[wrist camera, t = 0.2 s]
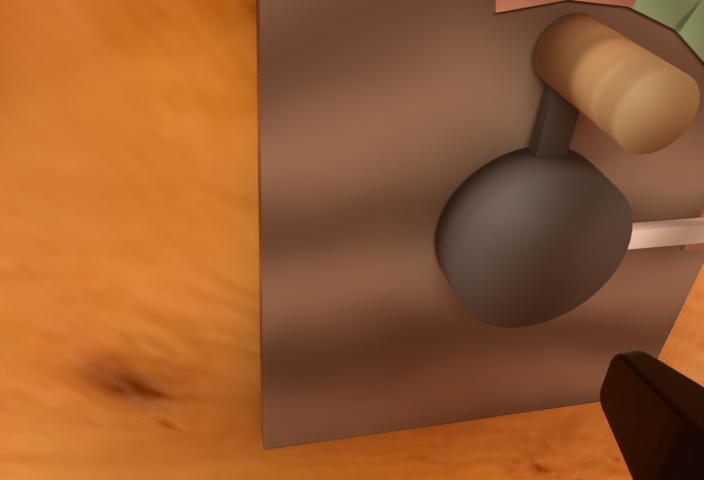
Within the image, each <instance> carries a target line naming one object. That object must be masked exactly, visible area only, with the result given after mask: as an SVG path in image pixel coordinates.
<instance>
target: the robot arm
mask: <svg viewBox="0 0 704 480" xmlns="http://www.w3.org/2000/svg"><path fill="white" fill-rule="evenodd" d="M600 402H601V406H602V409H603V411H604V413H605V416H606V418H607V420H608V423H609V425H610V427H611V430H612V432H613V434H614V437H615V439H616V441H617V444H618V446H619V448H620V451H621V453H622V455H623V458H624V460H625V462H626V465H627V467H628V469H629V472H630V474H631V476H632V479H633V480H704V387H703V386H701V385H700V384H698V383H696V382H695V381H693V380H691V379H690V378H688V377H686V376H685V375H683V374H681V373H680V372H678V371H676V370H675V369H673V368H671V367H670V366H668V365H666V364H665V363H663V362H661V361H660V360H658V359H656V358H655V357H653V356H651V355H650V354H648V353H646V352H643V351H631V352H626V353H620V354H616V355H615V356H614V357H613V358H612V360H611V362H610V365H609V367H608V370H607V373H606V376H605V378H604V381H603V384H602V387H601V390H600Z"/></svg>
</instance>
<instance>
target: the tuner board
mask: <svg viewBox="0 0 704 480" xmlns="http://www.w3.org/2000/svg"><path fill="white" fill-rule="evenodd" d="M570 13H584V14H587V15H590V16H591V17H593V18H595V19H596V20H598V21H600V22H601V23H603V24H605V25H606V26H608V27H610V28H611V29H613V30H615V31H616V32H618V33H620V34H621V35H623V36H625V37H626V38H628V39H630V40H631V41H633V42H635V43H636V44H638V45H640V46H641V47H643V48H645V49H646V50H648V51H650V52H651V53H653V54H655V55H656V56H658V57H660V58H661V59H663V60H665V61H666V62H668V63H670V64H671V65H673V66H675V67H676V68H678V69H680V70H681V71H683V72H685V73H686V74H688V75H689V76H691V77H692V78H693V79H694V80H695V81H696V83H697V85H698V87H699V92H700V102H699V107H698V110H697V113H696V115H695V117H694V119H693V121H692V123H691V124H690V126H689V127H688V128H687V130H686V131H685V132H684V133H683V134H682V135H681V136H680V137H679V138H678V139H677V140H676V141H675V142H673V143H672V144H670V145H669V146H667V147H666V148H664V149H662V150H660V151H657V152H654V153H650V154H643V155H642V154H633V153H630V152H628V151H627V150H625V149H624V148H623V147H622V146H620V145H619V144H618V143H617V142H616V141H615V140H613V139H612V138H611V137H610V136H609V135H607V134H606V133H605V132H604V131H603V130H601V129H600V128H599V127H598V126H597V125H596V124H594V123H593V122H592V121H591V120H590V119H588V118H587V117H586V116H585V115H584V114H583V113H581V112H579V116H578V119H577V122H576V126H575V129H574V133H573V136H572V139H571V143H570V146H569V149H570V150H573V151H575V152H577V153H579V154H581V155H582V156H584V157H585V158H586V159H588V160H589V161H590V162H591V163H592V164H593V165H594V166H595V167H596V168H597V169H598V170H599V171H601V172H602V173H603V174H604V175H605V176H606V177H607V178H608V179H609V180H610V181H611V182H612V183H613V184H614V185H615V186H616V187H617V188H618V189H619V190H620V191H621V192H622V193H623V194H624V196H625V197H626V199H627V201H628V203H629V205H630V208H631V211H632V219H633V223H638V222H651V221H664V220H677V219H690V218H704V0H256V17H257V102H258V186H259V271H260V356H261V433H262V440H263V447H264V450H267V449H274V448H281V447H288V446H295V445H302V444H309V443H316V442H323V441H329V440H336V439H343V438H350V437H357V436H364V435H371V434H378V433H385V432H392V431H399V430H406V429H413V428H420V427H427V426H434V425H441V424H447V423H454V422H461V421H468V420H475V419H482V418H489V417H496V416H503V415H510V414H517V413H524V412H531V411H538V410H545V409H552V408H559V407H565V406H572V405H579V404H586V403H593V402H600V390H601V387H602V384H603V381H604V378H605V376H606V373H607V370H608V367H609V365H610V362H611V360H612V358H613V357H614V356H615V355H616V354H620V353H626V352H631V351H643V352H646V353H648V354H650V355H651V356H653V357H655V358H656V359H657V358H658V356H659V354H660V352H661V350H662V348H663V346H664V344H665V341H666V339H667V337H668V335H669V333H670V331H671V329H672V327H673V325H674V323H675V321H676V319H677V317H678V315H679V313H680V310H681V308H682V306H683V304H684V302H685V300H686V298H687V296H688V294H689V292H690V290H691V288H692V286H693V284H694V282H695V279H696V277H697V275H698V273H699V271H700V269H701V267H702V265H703V263H704V243H697V244H686V245H674V246H662V247H651V248H639V249H628V250H627V252H626V254H625V256H624V258H623V260H622V262H621V263H620V265H619V267H618V268H617V270H616V271H615V273H614V274H613V275H612V277H611V278H610V279H609V280H608V281H607V282H606V283H605V285H604V286H603V287H602V288H601V289H600V290H598V291H597V292H596V293H595V294H594V295H593V296H592V297H590V298H589V299H588V300H587V301H585V302H584V303H582V304H581V305H579V306H578V307H576V308H575V309H573V310H571V311H569V312H568V313H566V314H564V315H562V316H560V317H557V318H555V319H553V320H550V321H547V322H544V323H540V324H537V325H533V326H526V327H517V328H506V327H497V326H492V325H489V324H486V323H483V322H481V321H479V320H477V319H475V318H474V317H472V316H471V315H469V314H468V313H467V312H466V311H465V310H464V309H463V308H462V306H461V304H460V303H459V301H458V300H457V298H456V296H455V294H454V292H453V290H452V289H451V287H450V285H449V283H448V281H447V279H446V278H445V276H444V274H443V272H442V270H441V268H440V266H439V264H438V261H437V258H436V253H435V233H436V229H437V225H438V221H439V219H440V216H441V214H442V211H443V210H444V208H445V206H446V204H447V202H448V201H449V199H450V198H451V197H452V195H453V194H454V192H455V191H456V190H457V189H458V188H459V187H460V185H461V184H462V183H463V182H464V181H465V180H466V179H467V178H469V177H470V176H471V175H472V174H473V173H474V172H476V171H477V170H478V169H480V168H481V167H482V166H484V165H485V164H487V163H489V162H490V161H492V160H494V159H496V158H498V157H500V156H502V155H504V154H507V153H509V152H512V151H515V150H518V149H522V148H527V147H529V144H530V140H531V136H532V132H533V128H534V124H535V121H536V117H537V113H538V109H539V105H540V101H541V97H542V93H543V89H544V85H545V81H544V80H542V79H541V78H540V77H539V76H538V74H537V73H536V70H535V68H534V63H533V54H534V49H535V46H536V43H537V41H538V39H539V37H540V35H541V34H542V33H543V31H544V30H545V29H546V28H547V27H548V26H549V25H550V24H551V23H552V22H553V21H555V20H556V19H558V18H559V17H561V16H564V15H566V14H570Z"/></svg>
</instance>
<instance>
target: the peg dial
mask: <svg viewBox="0 0 704 480" xmlns="http://www.w3.org/2000/svg"><path fill="white" fill-rule="evenodd" d="M533 63H534V68H535V70H536V73H537V74H538V76H539V77H540V78H541V79H542V80H544V81H545V85H544V89H543V93H542V97H541V101H540V105H539V109H538V113H537V117H536V121H535V124H534V128H533V132H532V136H531V140H530V144H529V147H527V148H522V149H518V150H515V151H512V152H509V153H507V154H504V155H502V156H500V157H498V158H496V159H494V160H492V161H490V162H489V163H487V164H485V165H484V166H482V167H481V168H480V169H478V170H477V171H476V172H474V173H473V174H472V175H471V176H470V177H469V178H467V179H466V180H465V181H464V182H463V183H462V184H461V185H460V187H459V188H458V189H457V190H456V191H455V192H454V194H453V195H452V197H451V198H450V199H449V201H448V202H447V204H446V206H445V208H444V210H443V211H442V214H441V216H440V219H439V221H438V225H437V229H436V233H435V253H436V258H437V261H438V264H439V266H440V268H441V270H442V272H443V274H444V276H445V278H446V279H447V281H448V283H449V285H450V287H451V289H452V290H453V292H454V294H455V296H456V298H457V300H458V301H459V303H460V304H461V306H462V308H463V309H464V310H465V311H466V312H467V313H468V314H469V315H471V316H472V317H474V318H475V319H477V320H479V321H481V322H483V323H486V324H489V325H492V326H497V327H506V328H517V327H526V326H533V325H537V324H540V323H544V322H547V321H550V320H553V319H555V318H557V317H560V316H562V315H564V314H566V313H568V312H569V311H571V310H573V309H575V308H576V307H578V306H579V305H581V304H582V303H584V302H585V301H587V300H588V299H589V298H590V297H592V296H593V295H594V294H595V293H596V292H597V291H598V290H600V289H601V288H602V287H603V286H604V285H605V283H606V282H607V281H608V280H609V279H610V278H611V277H612V275H613V274H614V273H615V271H616V270H617V268H618V267H619V265H620V263H621V262H622V260H623V258H624V256H625V254H626V252H627V250H628V249H639V248H651V247H662V246H674V245H686V244H697V243H704V218H690V219H677V220H664V221H651V222H638V223H633V219H632V211H631V208H630V205H629V203H628V201H627V199H626V197H625V196H624V194H623V193H622V192H621V191H620V190H619V189H618V188H617V187H616V186H615V185H614V184H613V183H612V182H611V181H610V180H609V179H608V178H607V177H606V176H605V175H604V174H603V173H602V172H601V171H599V170H598V169H597V168H596V167H595V166H594V165H593V164H592V163H591V162H590V161H589V160H588V159H586V158H585V157H584V156H582V155H581V154H579V153H577V152H575V151H573V150H570V149H569V146H570V143H571V139H572V136H573V133H574V129H575V126H576V122H577V119H578V116H579V112H581V113H583V114H584V115H585V116H586V117H587V118H588V119H590V120H591V121H592V122H593V123H594V124H596V125H597V126H598V127H599V128H600V129H601V130H603V131H604V132H605V133H606V134H607V135H609V136H610V137H611V138H612V139H613V140H615V141H616V142H617V143H618V144H619V145H620V146H622V147H623V148H624V149H625V150H627V151H628V152H630V153H633V154H642V155H643V154H650V153H654V152H657V151H660V150H662V149H664V148H666V147H667V146H669V145H670V144H672V143H673V142H675V141H676V140H677V139H678V138H679V137H680V136H681V135H682V134H683V133H684V132H685V131H686V130H687V128H688V127H689V126H690V124H691V123H692V121H693V119H694V117H695V115H696V113H697V110H698V107H699V102H700V92H699V87H698V85H697V83H696V81H695V80H694V79H693V78H692V77H691V76H689V75H688V74H686V73H685V72H683V71H681V70H680V69H678V68H676V67H675V66H673V65H671V64H670V63H668V62H666V61H665V60H663V59H661V58H660V57H658V56H656V55H655V54H653V53H651V52H650V51H648V50H646V49H645V48H643V47H641V46H640V45H638V44H636V43H635V42H633V41H631V40H630V39H628V38H626V37H625V36H623V35H621V34H620V33H618V32H616V31H615V30H613V29H611V28H610V27H608V26H606V25H605V24H603V23H601V22H600V21H598V20H596V19H595V18H593V17H591V16H590V15H587V14H584V13H570V14H566V15H564V16H561V17H559V18H558V19H556V20H555V21H553V22H552V23H551V24H550V25H549V26H548V27H547V28H546V29H545V30H544V31H543V33H542V34H541V35H540V37H539V39H538V41H537V43H536V46H535V49H534V54H533Z"/></svg>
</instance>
